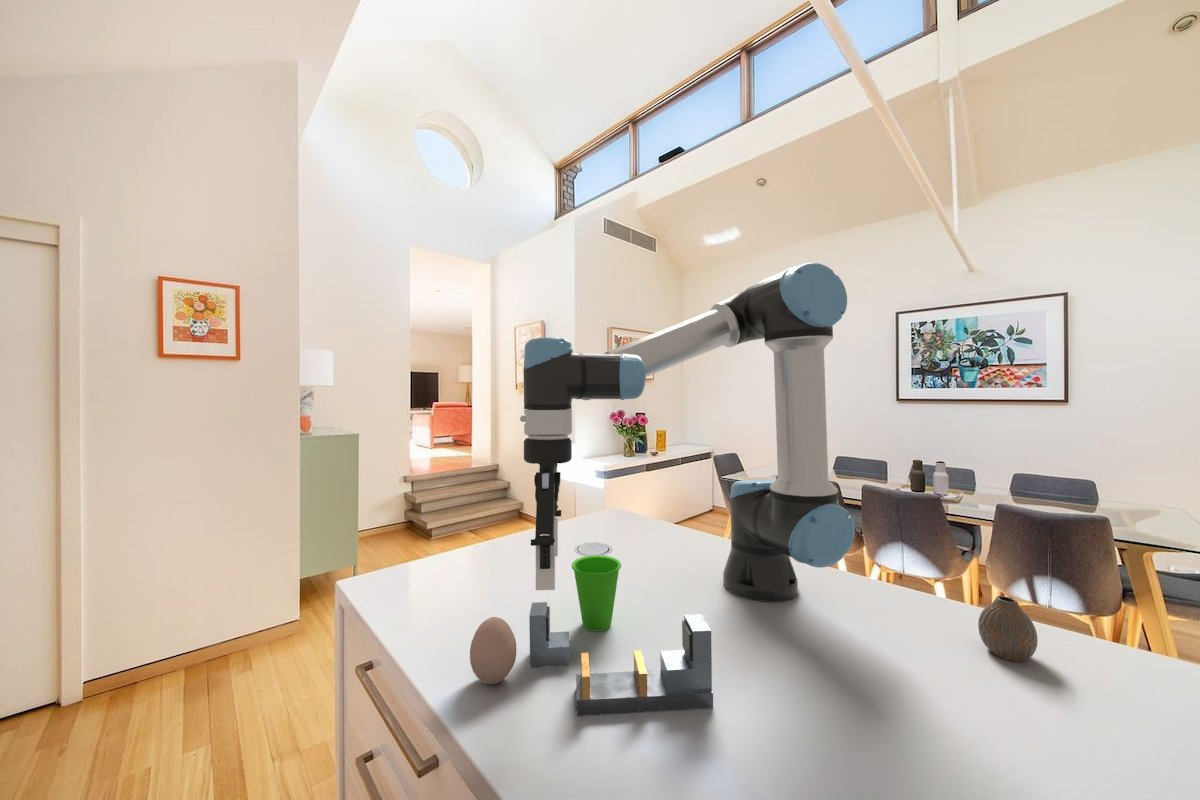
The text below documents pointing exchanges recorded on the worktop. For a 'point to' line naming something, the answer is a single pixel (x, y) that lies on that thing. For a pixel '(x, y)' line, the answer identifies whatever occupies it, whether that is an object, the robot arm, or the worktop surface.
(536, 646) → the l-shaped step block
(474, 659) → the egg
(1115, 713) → the worktop surface
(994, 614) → the vase
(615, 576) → the cup
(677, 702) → the rail
